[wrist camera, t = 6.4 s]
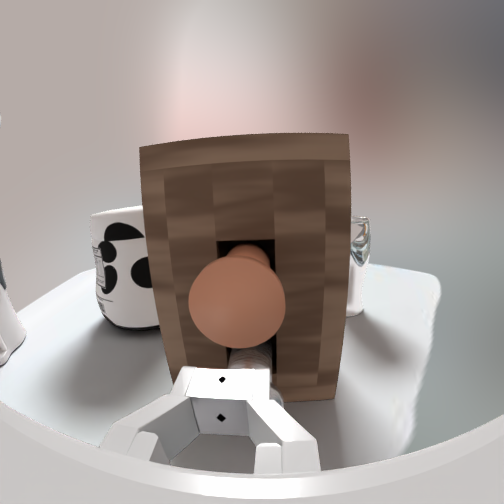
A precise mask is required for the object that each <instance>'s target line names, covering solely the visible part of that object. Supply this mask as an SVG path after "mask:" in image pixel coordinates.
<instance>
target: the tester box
mask: <svg viewBox="0 0 504 504" xmlns="http://www.w3.org/2000/svg"><path fill="white" fill-rule="evenodd" d="M139 149H140V150H139V152H140V176H141V191H142V192H141V193H142V206H143V217H144V227H145V236H146V245H147V253H148V260H149V268H150V274H151V281H152V287H153V293H154V299H155V305H156V310H157V315H158V320H159V325H160V330H161V335H162V340H163V344H164V349H165V353H166V357H167V362H168V366H169V370H170V374H171V378H172V381H173V385H174V383H175V381H176V379H177V377H178V375H179V372H180V370H181V368H182V367H183V366H191V367H206V368H222V369H227V367H228V363H229V359H230V354H231V350H232V348H230V347H226V346H222V345H220V344H217V343H215V342H213V341H212V340H210V339H209V338H207V337H206V336H205V335H204V334H203V333H201V331H200V330H199V329H198V328H197V326H196V325H195V323H194V321H193V320H192V317H191V314H190V311H189V303H188V300H189V293H190V289H191V287H192V284H193V283H194V281H195V279H196V278H197V277H198V275H199V274H200V273H201V271H202V270H203V269H204V268H205V267H206V266H207V265H208V264H210V263H211V262H213V261H215V260H217V259H219V258H222V257H225V256H227V254H228V252H229V251H230V249H231V248H232V247H233V246H235V245H236V244H238V243H240V242H244V241H251V242H255V243H258V244H260V245H261V246H262V247H264V248H265V250H266V251H267V253H268V255H269V257H270V268H271V269H272V270H273V271H274V272H275V274H276V275H277V276H278V278H279V280H280V282H281V284H282V287H283V290H284V295H285V306H286V308H285V315H284V319H283V322H282V324H281V326H280V328H279V329H278V330H277V332H276V333H275V334H274V335H273V336H272V337H271V338H270V340H271V342H272V383H273V384H274V385H275V386H276V387H277V388H278V389H279V390H280V392H281V394H282V396H283V402H297V401H313V400H325V399H334V398H335V392H336V387H337V381H338V374H339V368H340V361H341V354H342V346H343V338H344V329H345V320H346V309H347V298H348V285H349V268H350V245H351V173H350V150H349V135H348V134H333V133H269V134H247V135H233V136H220V137H209V138H200V139H191V140H183V141H176V142H168V143H163V144H156V145H149V146H144V147H140V148H139Z"/></svg>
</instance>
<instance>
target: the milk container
mask: <svg viewBox="0 0 504 504" xmlns="http://www.w3.org/2000/svg"><path fill="white" fill-rule="evenodd" d="M90 231H91V237H92V248H93V253H94V258H95V264H96V296H97V301H98V304H99V307H100V309H101V311H102V314H103V316H104V317H105V318H106V319H107V320H108V321H109V322H110V323H111V324H113V325H115V326H118V327H122V328H125V329H130V330H146V329H153V328H159V327H160V325H159V320H158V315H157V310H156V305H155V299H154V293H153V287H152V281H151V274H150V268H149V260H148V253H147V245H146V236H145V227H144V217H143V206H136V207H128V208H122V209H116V210H110V211H104V212H100V213H96V214H93V215H91V218H90Z"/></svg>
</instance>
